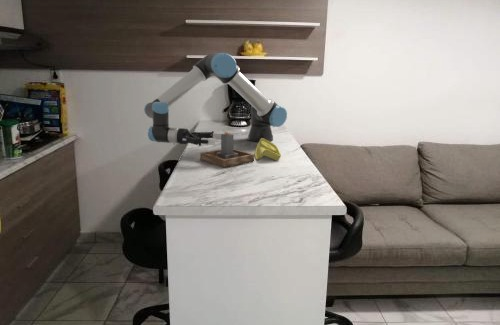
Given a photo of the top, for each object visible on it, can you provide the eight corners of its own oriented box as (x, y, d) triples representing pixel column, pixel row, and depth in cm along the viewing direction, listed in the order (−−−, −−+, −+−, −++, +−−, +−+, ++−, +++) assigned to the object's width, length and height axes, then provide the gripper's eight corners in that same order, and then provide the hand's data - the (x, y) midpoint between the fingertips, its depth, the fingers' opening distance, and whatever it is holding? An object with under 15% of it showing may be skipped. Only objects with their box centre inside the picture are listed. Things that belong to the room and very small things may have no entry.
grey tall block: (227, 157, 187) (227, 131, 183) (233, 159, 184) (233, 132, 181) (221, 159, 184) (221, 131, 181) (226, 160, 181) (226, 133, 178)
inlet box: (229, 154, 196) (229, 147, 195) (254, 161, 184) (254, 153, 183) (200, 160, 184) (200, 152, 183) (224, 168, 172) (224, 159, 171)
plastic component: (281, 156, 185) (263, 147, 183) (274, 169, 187) (256, 161, 185) (276, 144, 204) (259, 136, 202) (269, 156, 206) (252, 148, 204)
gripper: (190, 138, 200) (229, 142, 195) (167, 148, 177) (210, 153, 171) (190, 124, 198) (229, 127, 193) (166, 132, 175) (210, 136, 169)
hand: (220, 139), depth 182 cm, fingers open, 13 cm apart
